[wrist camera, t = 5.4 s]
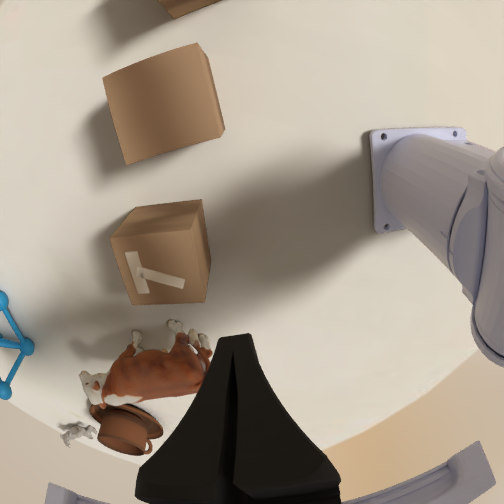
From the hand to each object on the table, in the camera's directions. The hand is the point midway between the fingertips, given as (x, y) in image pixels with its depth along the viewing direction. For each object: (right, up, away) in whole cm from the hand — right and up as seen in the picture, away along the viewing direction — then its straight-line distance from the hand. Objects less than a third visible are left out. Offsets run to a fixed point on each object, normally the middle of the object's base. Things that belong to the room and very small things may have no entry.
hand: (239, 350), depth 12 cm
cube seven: (-5, +6, +9) cm, 12 cm away
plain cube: (-4, +14, +4) cm, 15 cm away
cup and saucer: (-19, -21, +24) cm, 37 cm away
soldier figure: (-35, -31, +29) cm, 55 cm away
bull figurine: (-9, -4, +14) cm, 17 cm away
